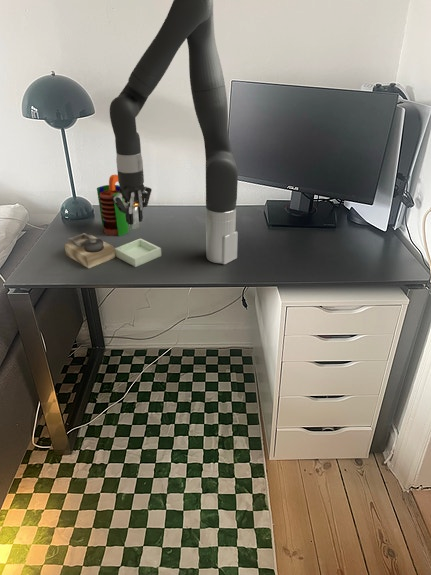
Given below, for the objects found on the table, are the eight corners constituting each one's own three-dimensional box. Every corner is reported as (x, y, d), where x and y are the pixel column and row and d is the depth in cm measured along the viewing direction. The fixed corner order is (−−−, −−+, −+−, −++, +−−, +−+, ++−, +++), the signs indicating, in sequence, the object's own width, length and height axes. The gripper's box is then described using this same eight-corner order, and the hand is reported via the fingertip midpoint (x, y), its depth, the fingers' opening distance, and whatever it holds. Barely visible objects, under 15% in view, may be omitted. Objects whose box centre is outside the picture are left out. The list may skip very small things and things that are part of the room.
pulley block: (115, 257, 147) (112, 238, 143) (88, 268, 141) (85, 248, 137) (91, 245, 155) (88, 226, 151) (65, 254, 149) (61, 235, 145)
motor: (97, 232, 164) (89, 178, 153) (112, 223, 171) (106, 171, 160) (119, 237, 160) (112, 182, 149) (134, 228, 167) (129, 175, 156)
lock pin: (142, 226, 143) (140, 202, 138) (134, 230, 140) (131, 205, 136) (136, 223, 145) (133, 200, 140) (127, 226, 142) (125, 202, 138)
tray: (161, 255, 148) (160, 248, 147) (135, 267, 142) (134, 259, 140) (141, 245, 154) (140, 238, 153) (115, 256, 148) (114, 248, 146)
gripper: (118, 175, 126) (123, 232, 135) (156, 165, 135) (159, 219, 144) (102, 170, 131) (109, 225, 140) (140, 160, 139) (144, 213, 148)
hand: (134, 222), depth 142 cm, fingers closed on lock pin, 2 cm apart
